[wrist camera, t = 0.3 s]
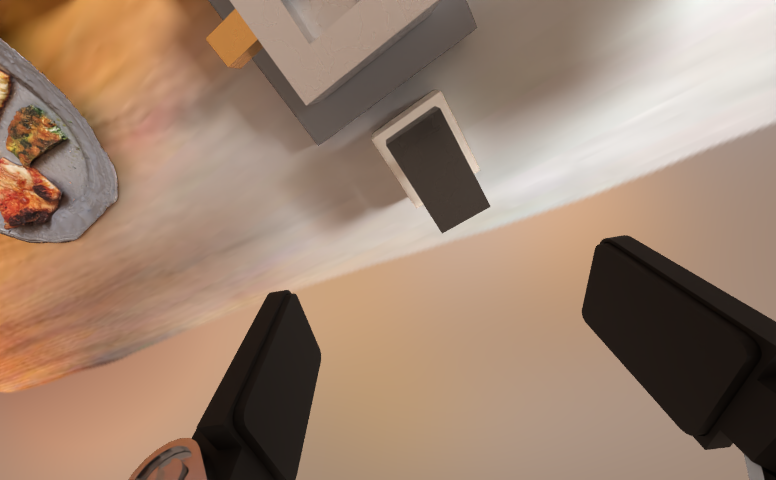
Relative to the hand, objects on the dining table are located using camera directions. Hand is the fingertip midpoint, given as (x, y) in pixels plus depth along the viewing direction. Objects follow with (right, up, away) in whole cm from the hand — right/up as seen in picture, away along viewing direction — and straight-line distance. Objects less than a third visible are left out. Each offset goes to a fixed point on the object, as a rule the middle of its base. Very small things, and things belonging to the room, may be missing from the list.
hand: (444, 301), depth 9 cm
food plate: (-46, +13, +24) cm, 53 cm away
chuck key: (+2, +12, +23) cm, 26 cm away
